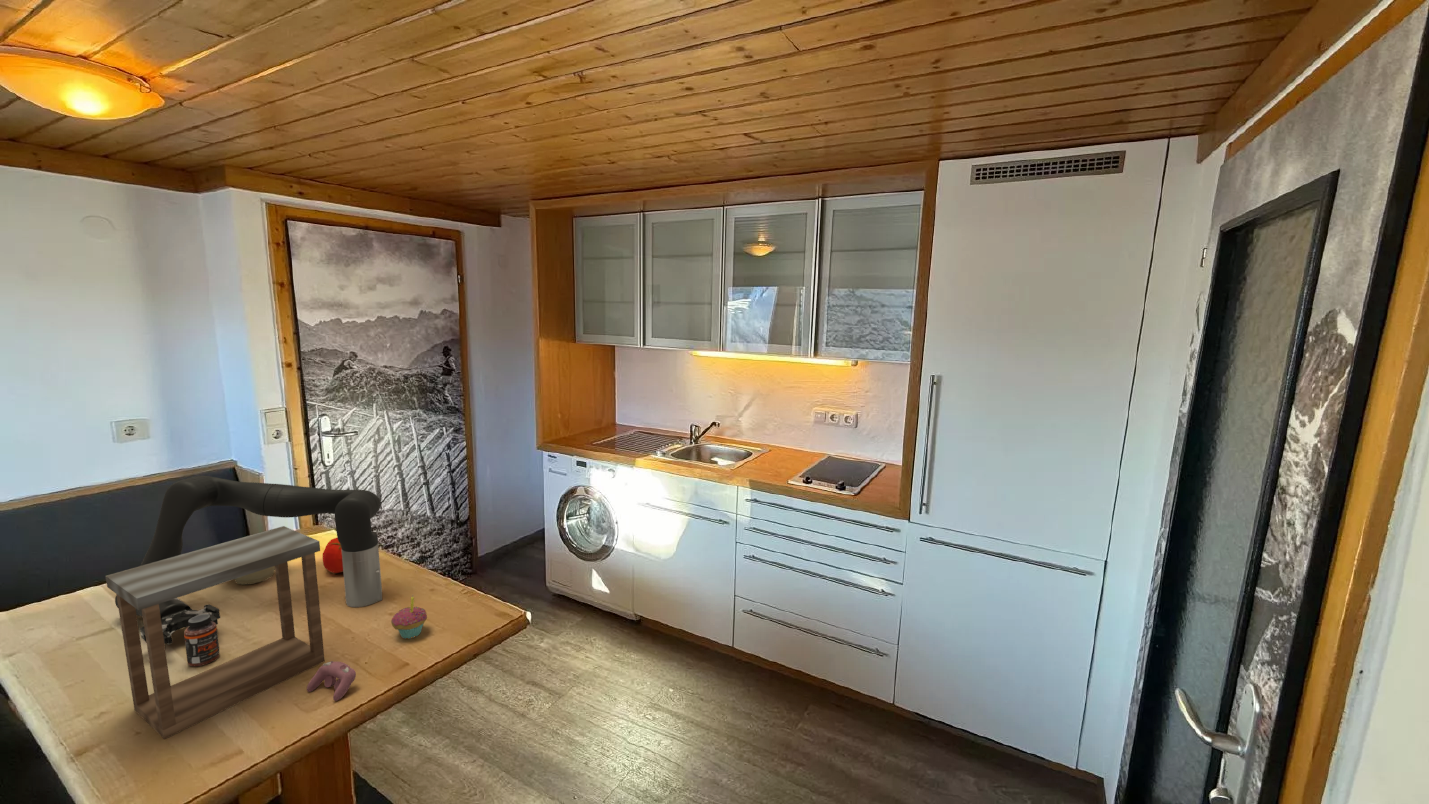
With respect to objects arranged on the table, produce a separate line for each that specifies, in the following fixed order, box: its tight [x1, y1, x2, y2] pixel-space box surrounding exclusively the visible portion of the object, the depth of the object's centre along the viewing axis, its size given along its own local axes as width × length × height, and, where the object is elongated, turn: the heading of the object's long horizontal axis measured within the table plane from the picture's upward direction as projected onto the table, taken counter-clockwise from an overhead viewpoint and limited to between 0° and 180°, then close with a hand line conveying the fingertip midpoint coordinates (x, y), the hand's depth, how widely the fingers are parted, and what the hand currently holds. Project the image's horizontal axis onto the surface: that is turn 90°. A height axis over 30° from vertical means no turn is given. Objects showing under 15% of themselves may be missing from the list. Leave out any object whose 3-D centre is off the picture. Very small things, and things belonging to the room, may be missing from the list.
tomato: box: [322, 537, 343, 574], centre depth 187 cm, size 14×13×10 cm
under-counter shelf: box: [105, 525, 326, 740], centre depth 128 cm, size 17×32×32 cm, turn 151°
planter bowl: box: [234, 566, 275, 585], centre depth 179 cm, size 16×16×11 cm
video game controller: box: [306, 661, 357, 702], centre depth 130 cm, size 10×5×7 cm, turn 71°
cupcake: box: [390, 594, 428, 639], centre depth 152 cm, size 9×8×12 cm
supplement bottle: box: [183, 614, 220, 667], centre depth 138 cm, size 6×6×11 cm
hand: (193, 631), depth 141 cm, fingers open, 8 cm apart
